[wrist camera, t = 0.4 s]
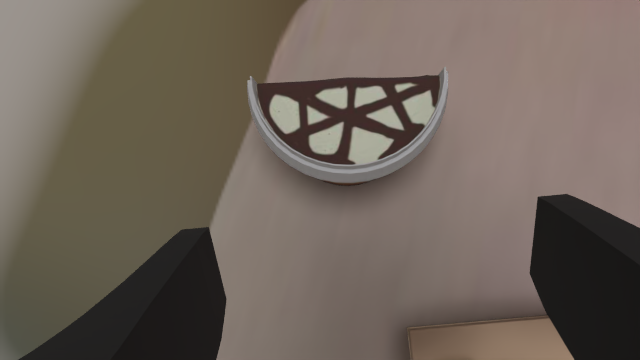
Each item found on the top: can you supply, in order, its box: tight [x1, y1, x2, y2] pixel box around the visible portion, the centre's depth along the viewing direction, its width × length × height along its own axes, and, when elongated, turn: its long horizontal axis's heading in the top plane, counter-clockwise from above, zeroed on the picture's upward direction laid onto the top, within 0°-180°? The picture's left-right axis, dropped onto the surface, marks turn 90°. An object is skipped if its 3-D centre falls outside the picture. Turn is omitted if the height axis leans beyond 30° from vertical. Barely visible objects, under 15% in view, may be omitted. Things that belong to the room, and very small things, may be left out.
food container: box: [247, 67, 448, 186], centre depth 33 cm, size 12×6×10 cm, turn 92°
